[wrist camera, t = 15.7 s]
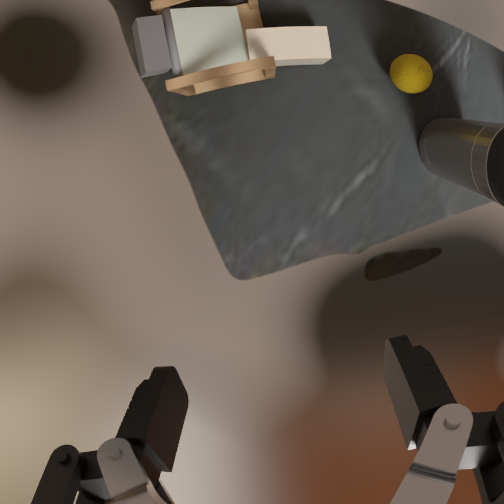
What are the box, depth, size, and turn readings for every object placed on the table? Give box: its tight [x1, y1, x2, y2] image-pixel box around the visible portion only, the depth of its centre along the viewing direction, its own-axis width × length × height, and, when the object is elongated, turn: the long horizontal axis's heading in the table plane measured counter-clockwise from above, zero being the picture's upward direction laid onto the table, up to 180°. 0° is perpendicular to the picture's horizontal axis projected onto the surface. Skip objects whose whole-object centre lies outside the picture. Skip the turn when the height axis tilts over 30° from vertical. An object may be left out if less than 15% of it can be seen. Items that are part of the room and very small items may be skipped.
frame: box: [150, 0, 276, 96], centre depth 33 cm, size 12×12×10 cm
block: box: [245, 26, 331, 66], centre depth 34 cm, size 4×4×10 cm
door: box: [132, 6, 249, 78], centre depth 31 cm, size 13×9×2 cm
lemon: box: [390, 54, 433, 93], centre depth 33 cm, size 6×6×8 cm
